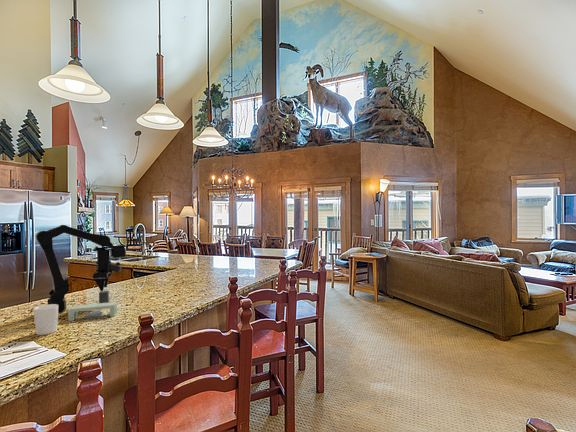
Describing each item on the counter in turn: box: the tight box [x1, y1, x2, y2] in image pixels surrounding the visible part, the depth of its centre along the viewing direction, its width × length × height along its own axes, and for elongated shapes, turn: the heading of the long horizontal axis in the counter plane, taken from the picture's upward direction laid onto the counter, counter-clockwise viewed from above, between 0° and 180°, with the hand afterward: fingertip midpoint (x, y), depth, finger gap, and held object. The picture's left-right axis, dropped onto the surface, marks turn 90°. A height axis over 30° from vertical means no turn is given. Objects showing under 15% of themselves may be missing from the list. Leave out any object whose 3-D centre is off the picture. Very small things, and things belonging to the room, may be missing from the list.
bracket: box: [67, 301, 118, 322], centre depth 149 cm, size 18×6×5 cm, turn 109°
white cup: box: [33, 303, 59, 336], centre depth 130 cm, size 8×8×10 cm
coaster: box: [83, 311, 104, 320], centre depth 149 cm, size 6×6×2 cm
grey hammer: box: [92, 290, 110, 313], centre depth 164 cm, size 4×21×6 cm, turn 19°
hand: (103, 289), depth 172 cm, fingers open, 9 cm apart
